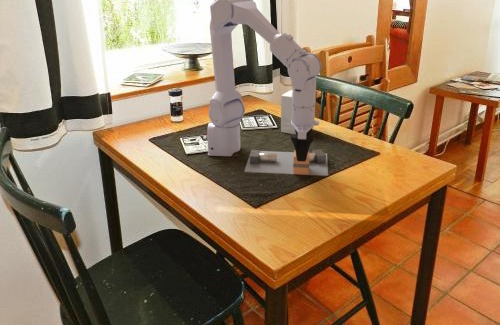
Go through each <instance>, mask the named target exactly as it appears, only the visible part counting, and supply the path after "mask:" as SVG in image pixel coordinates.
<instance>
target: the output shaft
mask: <svg viewBox="0 0 500 325" xmlns="http://www.w3.org/2000/svg"><path fill="white" fill-rule="evenodd" d="M325 154H326V153H325V152H324V151H323V150H322V149H321V148H317V149H312V152H310V155H309V158H310V159H309V162H314V161H315V162H316V163H317V164H324V163H326V155H325Z"/></svg>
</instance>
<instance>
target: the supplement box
mask: <svg viewBox="0 0 500 325" xmlns="http://www.w3.org/2000/svg"><path fill="white" fill-rule="evenodd" d="M280 99H281V100H280V102H281V103H280V133H285V134H290V135H291V134H296V132H295V129H294V127H293V126H292V125H291V120H292V89H291V90H288V91H287V92H284V93H283V94H281V95H280Z"/></svg>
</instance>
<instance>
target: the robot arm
mask: <svg viewBox="0 0 500 325" xmlns="http://www.w3.org/2000/svg"><path fill="white" fill-rule="evenodd" d="M209 9H210V10H209V11H210V22H209V33H210V43H211V53H212V54H211V56H212V62H213V63H212V65H213V73H214V74H213V76H214V85H215V92H213V93H214V94H213V95H212V96H211V98H210V99H209V108H208V117H209V120H210V122H208V124H207V130H206V131H207V132H206V137H207V138H206V141H207V156H210V157H211V156H213V157H233V155H234V153H237V152H239V151H240V150H241V125H240V124H241V122H242V117H244V115H245V112H246V107H245V104H244V101H243V99H242V94H241V93H240V92H239V91H237V89H236V83H235V82H236V81H235V69H234V59H233V58H234V57H233V55H234V54H233V45H232V43H233V42H232V32H233V31H234V30H235V28H237V26H238V25H246V26H248V27H249V28H251V29H252V30H254V32H256V34H258V35H259V36H260V37H261V38H262V39H263V40H265V41H266V42H267V43H268V44H269V51H270V52H271V53H272V54H273V56H274V57H276V58H277V59H278V60H279V61H280V63H282V65H283V66H285V67H286V68H287V74H288V76H289V79H290V80H291V87H292V89H291V90H292V120H291V125H292V126H293V127H294V129H295V132H296V134H290V141H291V142H292V144H293V146H294V150H295V151H296V157H297V161H306V158H307V154H308V151H310V146H311V144H312V143H313V142H314V138H315V136H314V135H311V133H312V130H313V128H314V127H315V126H320V120H316V119H315V117H316V95H317V94H316V93H317V92H316V91H317V76H318V75H319V74H320V73H321V71H322V62H321V60H320V58H319V57H318V55H317V54H316V53H311V52H308V51H307V50H306V49H305V48H302V46H300V45H299V44H298V43H297V42H296V41H295V40H294V36H293V35H292V34H288V33H286V32H283V33H280V32H279V31H278V29H276V28H275V27H274V26H273V24H272V23H271V22H270V21H269V20H268V19H267V18H266V17H265V16H264V14H262V12H261V11H260V10H259V9H258V7H257V3H256V1H254V0H213V2H212V4H211V5H210V6H209Z"/></svg>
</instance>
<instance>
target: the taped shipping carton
mask: <svg viewBox="0 0 500 325" xmlns="http://www.w3.org/2000/svg"><path fill="white" fill-rule="evenodd" d="M293 152H294V162H293V174H292V175H300V174H304V176H310V175H309V159H310V158H309V155H310V153H311V152H310V150H308V154H307V158H306V161H297V157H296V151H295V149H294V150H293Z"/></svg>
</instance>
